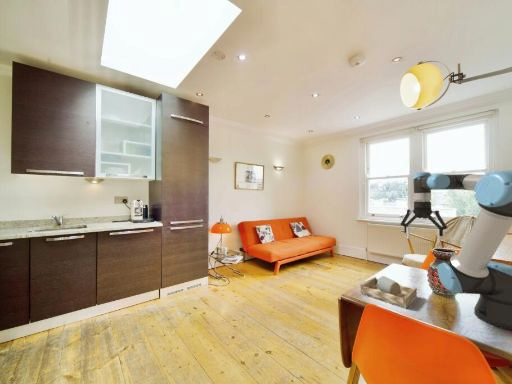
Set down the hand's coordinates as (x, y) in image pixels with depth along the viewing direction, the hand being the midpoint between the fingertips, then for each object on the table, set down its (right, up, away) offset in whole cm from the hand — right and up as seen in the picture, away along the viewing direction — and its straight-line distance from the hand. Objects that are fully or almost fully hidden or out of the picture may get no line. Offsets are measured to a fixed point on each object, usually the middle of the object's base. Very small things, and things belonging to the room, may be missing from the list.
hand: (422, 240), depth 119 cm
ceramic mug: (-22, -26, -7) cm, 34 cm away
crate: (-23, -27, -7) cm, 36 cm away
